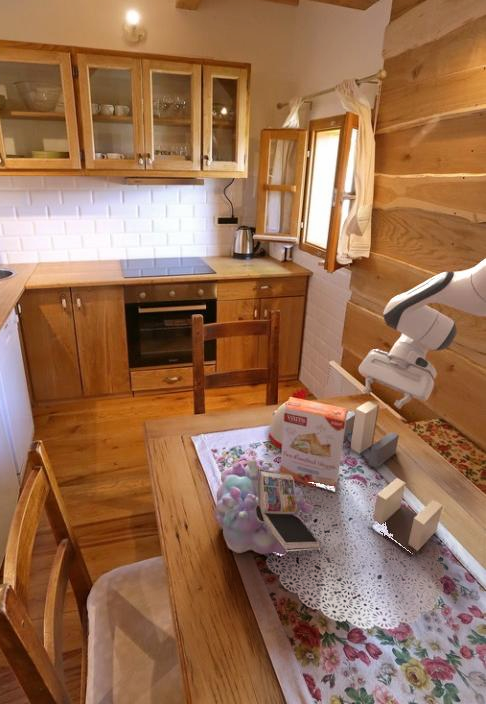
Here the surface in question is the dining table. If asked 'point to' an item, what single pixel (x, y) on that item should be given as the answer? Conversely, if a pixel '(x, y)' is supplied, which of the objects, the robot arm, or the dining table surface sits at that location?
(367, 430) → the tall beige block
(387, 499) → the cream book
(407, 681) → the dining table surface
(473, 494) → the dining table surface
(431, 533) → the cream book
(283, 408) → the kitchen timer
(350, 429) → the grey book
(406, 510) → the dark flat slab
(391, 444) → the grey book
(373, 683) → the dining table surface
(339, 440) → the cracker box
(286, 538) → the pastel bumpy hinged case
